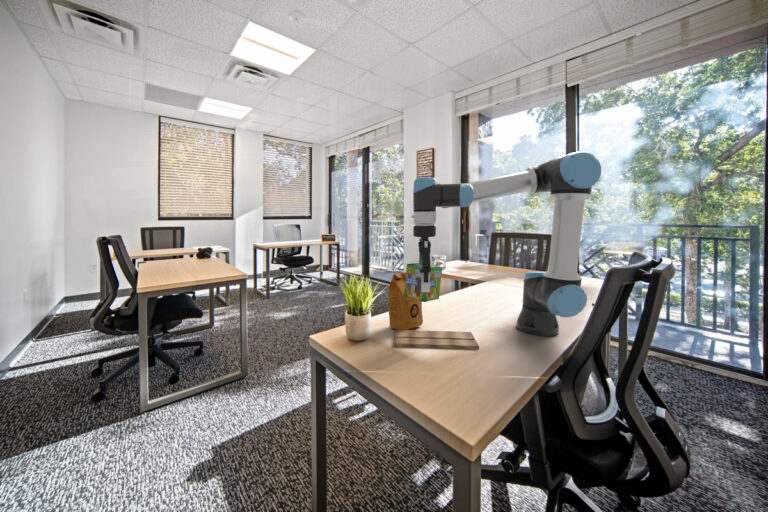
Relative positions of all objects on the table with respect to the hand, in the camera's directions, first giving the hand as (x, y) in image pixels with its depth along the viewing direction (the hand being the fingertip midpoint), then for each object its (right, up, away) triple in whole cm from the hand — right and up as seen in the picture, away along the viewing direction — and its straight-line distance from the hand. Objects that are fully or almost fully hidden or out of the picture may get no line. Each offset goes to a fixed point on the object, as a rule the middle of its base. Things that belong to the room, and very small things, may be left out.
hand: (424, 287), depth 109 cm
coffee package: (-5, -17, +15) cm, 23 cm away
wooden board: (+4, -19, +1) cm, 20 cm away
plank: (+4, -18, +5) cm, 20 cm away
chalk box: (-1, -4, +1) cm, 4 cm away
